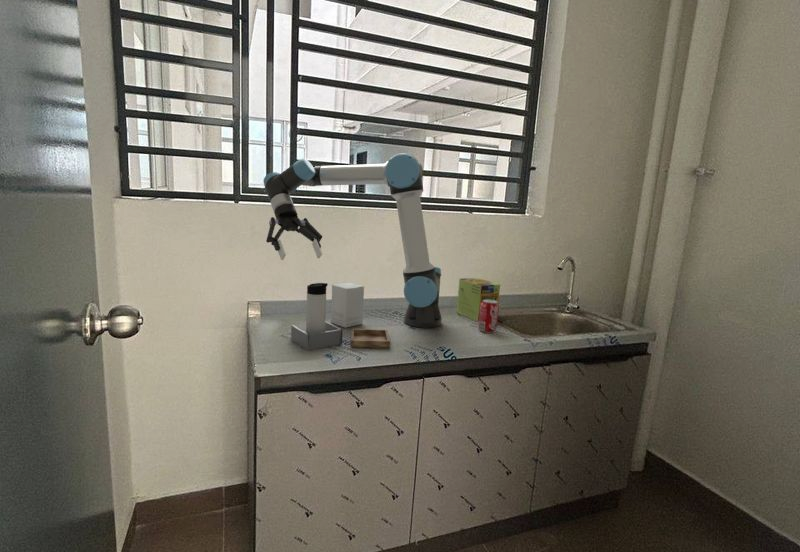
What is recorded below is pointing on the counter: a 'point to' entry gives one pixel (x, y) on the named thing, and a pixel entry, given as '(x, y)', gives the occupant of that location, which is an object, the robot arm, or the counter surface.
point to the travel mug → (316, 308)
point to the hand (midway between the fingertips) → (302, 256)
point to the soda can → (488, 315)
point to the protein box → (475, 296)
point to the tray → (370, 338)
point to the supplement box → (347, 304)
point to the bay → (317, 337)
